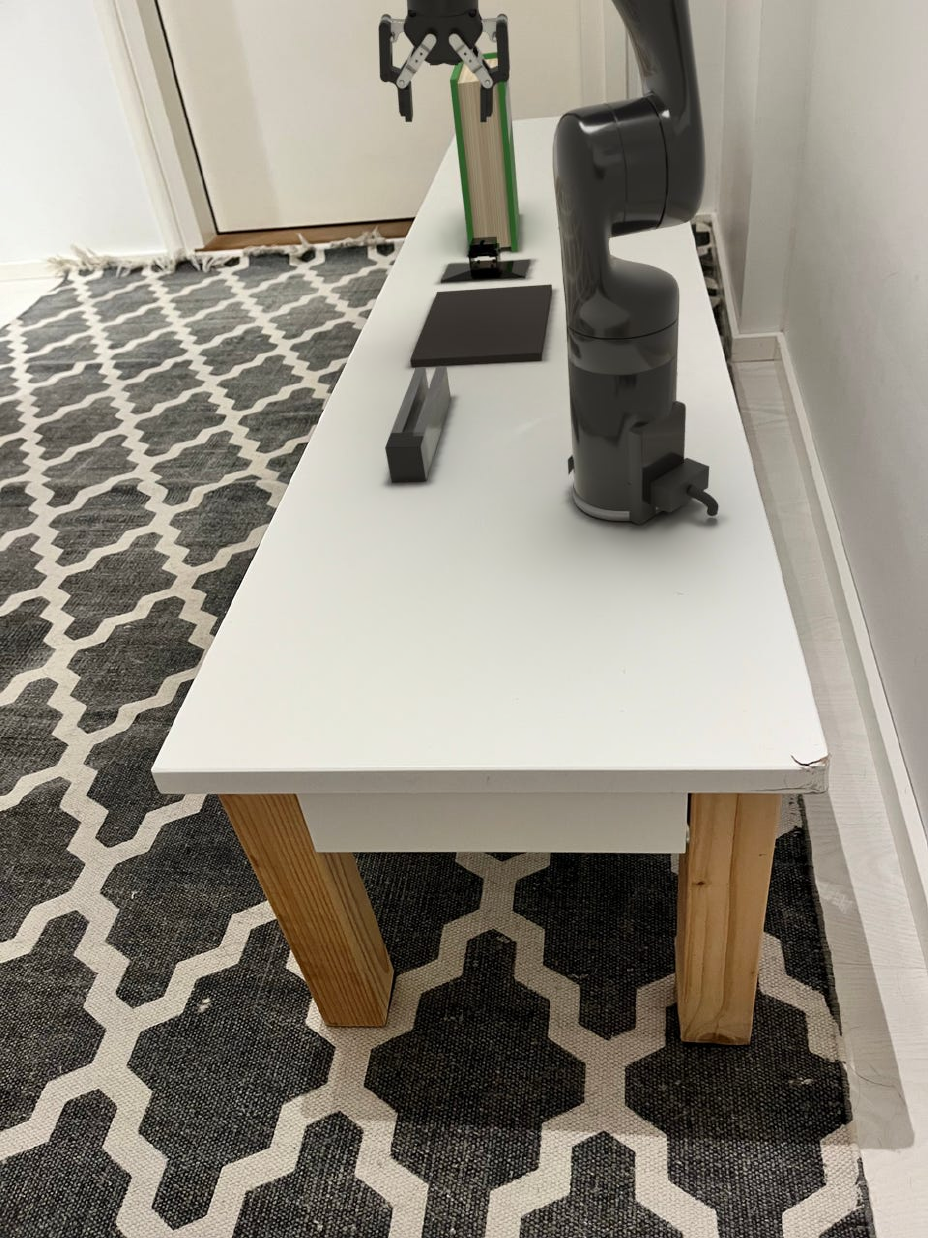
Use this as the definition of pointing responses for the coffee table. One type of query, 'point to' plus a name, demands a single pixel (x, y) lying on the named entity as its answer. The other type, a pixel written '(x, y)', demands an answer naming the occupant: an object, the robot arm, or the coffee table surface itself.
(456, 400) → the coffee table surface
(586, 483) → the robot arm
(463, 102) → the hardback book
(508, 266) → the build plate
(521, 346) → the mat
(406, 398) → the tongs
